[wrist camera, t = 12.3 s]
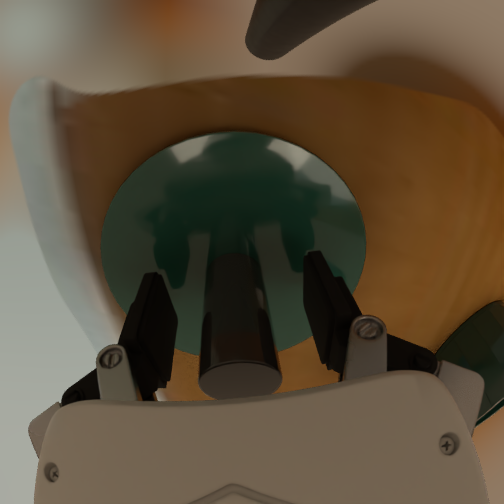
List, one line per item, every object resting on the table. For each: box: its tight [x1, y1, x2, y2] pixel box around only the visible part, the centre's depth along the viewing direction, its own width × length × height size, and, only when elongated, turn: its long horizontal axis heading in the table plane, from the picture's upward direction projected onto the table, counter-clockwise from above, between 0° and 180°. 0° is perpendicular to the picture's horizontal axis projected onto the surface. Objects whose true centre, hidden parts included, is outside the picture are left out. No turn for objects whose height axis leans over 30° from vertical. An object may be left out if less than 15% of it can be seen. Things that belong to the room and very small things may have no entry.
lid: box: [101, 130, 366, 400], centre depth 11 cm, size 14×14×7 cm
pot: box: [435, 301, 504, 428], centre depth 19 cm, size 13×18×10 cm
